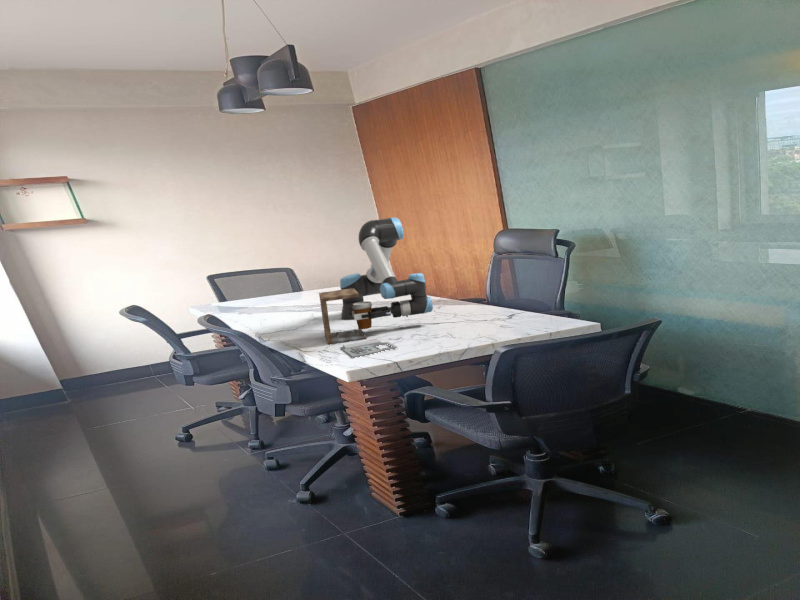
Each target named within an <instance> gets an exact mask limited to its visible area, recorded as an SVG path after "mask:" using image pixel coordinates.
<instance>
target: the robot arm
mask: <svg viewBox="0 0 800 600" xmlns="http://www.w3.org/2000/svg"><path fill="white" fill-rule="evenodd" d="M404 235H405V234H404V228H403V224H402V222H401V219H399V218H397V217H386V218H381V219H375V220H374V219H371V220H368V221H367V222H365V223H364V224H362V226H361V228H360V230H359V232H358V244H359V247H360V248H361V250H363V251H365V253H366V255H367V257H368V260H369V262H370V263H371V265H370V267H369V268H368V269H367V271H366V273H365V274H361V273H359V272H358V273H357V272H356V273H351V274H348V275H345V276H343V277H341V278H340V280H339V284H340V285H339V288H340V290H343V289H350V288H354V289H355V290H356V291H357V292H358V293H359V297H354V298H347V299H341V300H342V307H341V315H340V316H341V320H346V321H347V320H348V321H349V320H354V321H356V320H361V319H367V318H368V317H369V318H371V320H372V319H377V318H382V317H384V318H385V317H390V316H392V317H393V318H401V316H402V317H406V318H408V317H409V316H415V315H423V314H427V313H428V314H429V313H431V312H432V311H433V308H434V305H433V299H432V297H431V296H428V295H427V288H426V286H427V285H426V280H425V275H424V274H423V273H421V272H420V273H419V272H417V273H410V274H408V278H407V279H401V280H398V278H397V277H396V275H395V273H394V271H393V269H392V268H391V267H392V266H391V265H390V262H389V261H390V257H391V255H392V251H393V248H394V247H396V246H397V242H398V241H401V240H403V238H404ZM379 294H380V296H381V297H382V298H383V299H384V300H390V299H392V300H393V299H396V298H401V297H406V296H410V298H411V299H405V300H400V301H393V302H392V301H391V303H390V306H386V305H385V306H378V307H371V312H370V311H368V312H367V313H360V314H355V313H354V310H353V308H352V307H353V304H354V303H358V302H365V300H364V297H367V296H373V295H374V296H375V295H379Z"/></svg>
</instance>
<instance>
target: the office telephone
mask: <svg viewBox="0 0 800 600" xmlns="http://www.w3.org/2000/svg"><path fill="white" fill-rule="evenodd" d="M384 344H388V345H390V346H392V347H390V346H388V345H387V346H388V347H385V348H380V346H379V345H382V346H385V345H384ZM376 346H377V347H376ZM340 348H341V349H340ZM395 348H397V349H398V346H397V345H395V344H393V343H392V342H389V341H383V342H382V341H380V340H379V339H378V338H373V339H368V340H363V341H359V342H354V343H348V344H343V345H342V346H340V347H339V349H340V350H341V351H343V352H344V351H345V352H344V353H345V354H347V353H348V354H347V355H348V356H350V357H351V358H352V357H353V358H352V359H356V358H355V357H357V358H361V357H360V356H362V357H366V356H365V355H367V356H371V355H370V354H372V355H375V354H374V353H377V354H379V353H378V352H380V353H382V352H381V351H384V352H386V351H385V350H389V351H391V350H390V349H395ZM395 350H396V349H395Z"/></svg>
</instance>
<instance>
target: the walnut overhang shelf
mask: <svg viewBox="0 0 800 600" xmlns="http://www.w3.org/2000/svg"><path fill="white" fill-rule="evenodd" d="M318 295H319V301H320V309H321V315H322V322H323V330H324V331H323V332H324V337H325V341H326V343H327V346H330V344H331V345H337V343H338V344H343V343H350V341H351V342H358V341H365V340H367V338H368V337H367V335H366V334H365V333H364V331H363V329H358V328H357V329H351V330H343V331H339V332H338V331H336V332H331V326H330V325H331V324H330V319H329V313H328V312H329V311H328V310H329V309H328V304H327V303H328V302H331V301H338V300H342V299H347V298H354V297H359V293H358V292H357V291H356V290H355V289H354V288H350V289H343V290H341V289H338V290H332V291H331V290H329V291H324V292H319V293H318Z"/></svg>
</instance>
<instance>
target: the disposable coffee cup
mask: <svg viewBox="0 0 800 600" xmlns="http://www.w3.org/2000/svg"><path fill="white" fill-rule="evenodd" d="M352 308H353V310H354V313H355V314H360V313H367V312H368V311H370V312H371V308H373V303H372V302H371V301H365V300H364V302H358V303H354V304H353V307H352ZM355 321H356V325H357V329H362V330H367V329H371V328H372V321H373V320H372V319H371V318H369V317H368V318H367V319H361V320H355Z"/></svg>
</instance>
